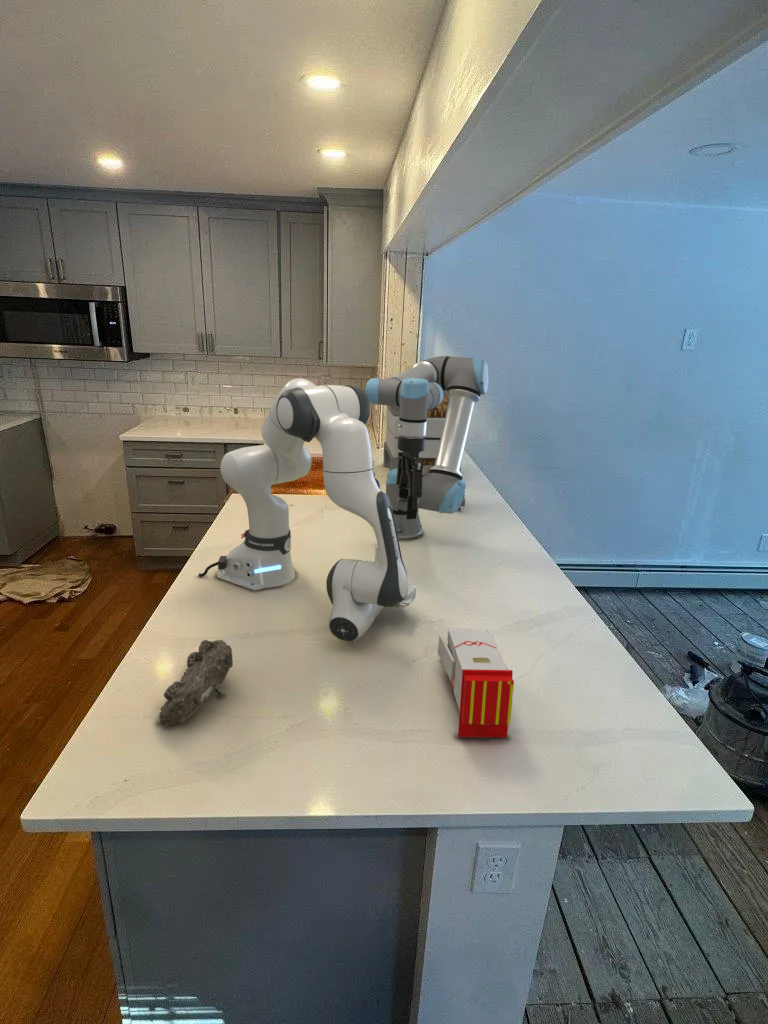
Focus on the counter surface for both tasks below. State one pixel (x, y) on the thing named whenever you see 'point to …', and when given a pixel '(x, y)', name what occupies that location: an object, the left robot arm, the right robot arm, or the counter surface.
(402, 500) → the lid
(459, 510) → the figurine character
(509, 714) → the toy
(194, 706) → the fossil
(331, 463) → the left robot arm
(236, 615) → the counter surface
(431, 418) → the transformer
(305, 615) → the counter surface
